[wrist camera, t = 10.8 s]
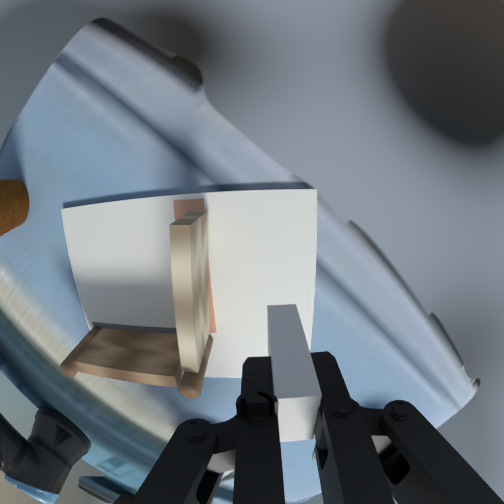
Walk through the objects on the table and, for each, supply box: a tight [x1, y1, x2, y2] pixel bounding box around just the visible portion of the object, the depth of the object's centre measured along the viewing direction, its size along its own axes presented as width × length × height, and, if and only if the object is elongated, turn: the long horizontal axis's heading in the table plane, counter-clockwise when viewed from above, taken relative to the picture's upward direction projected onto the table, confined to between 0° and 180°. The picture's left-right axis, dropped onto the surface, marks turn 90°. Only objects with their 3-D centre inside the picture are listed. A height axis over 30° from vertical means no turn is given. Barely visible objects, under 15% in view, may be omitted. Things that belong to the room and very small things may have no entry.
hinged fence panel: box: [169, 210, 210, 373], centre depth 23 cm, size 13×2×7 cm, turn 178°
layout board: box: [61, 189, 317, 378], centre depth 28 cm, size 28×22×1 cm
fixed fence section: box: [60, 326, 213, 399], centre depth 26 cm, size 16×2×8 cm, turn 92°
